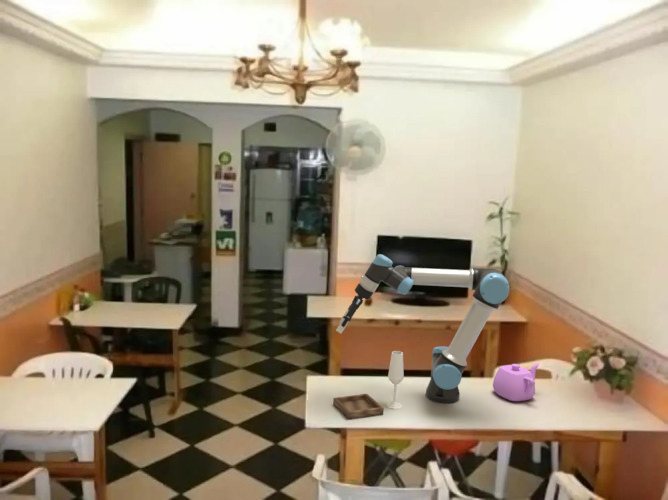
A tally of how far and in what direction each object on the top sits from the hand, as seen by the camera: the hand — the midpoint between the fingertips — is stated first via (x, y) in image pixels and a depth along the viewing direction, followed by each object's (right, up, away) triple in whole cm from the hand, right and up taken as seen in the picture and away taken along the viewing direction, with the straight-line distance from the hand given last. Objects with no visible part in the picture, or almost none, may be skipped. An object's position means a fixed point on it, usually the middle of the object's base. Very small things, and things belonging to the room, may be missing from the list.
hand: (340, 327), depth 265 cm
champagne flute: (+23, -34, +1) cm, 41 cm away
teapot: (+80, -34, +18) cm, 89 cm away
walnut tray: (+7, -34, -5) cm, 35 cm away
